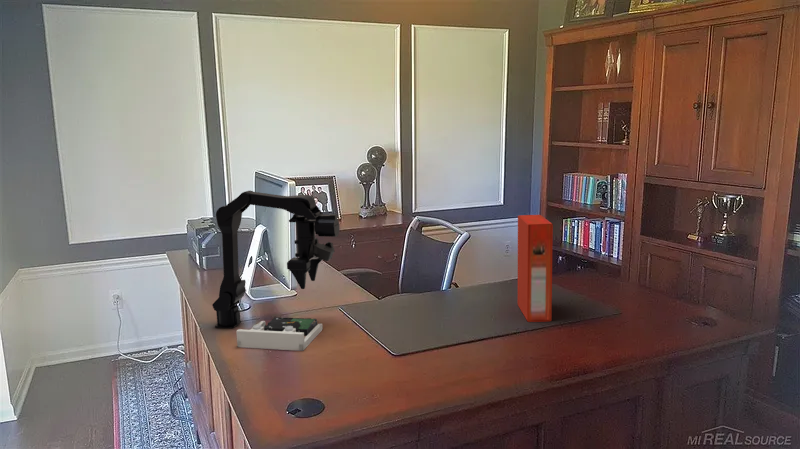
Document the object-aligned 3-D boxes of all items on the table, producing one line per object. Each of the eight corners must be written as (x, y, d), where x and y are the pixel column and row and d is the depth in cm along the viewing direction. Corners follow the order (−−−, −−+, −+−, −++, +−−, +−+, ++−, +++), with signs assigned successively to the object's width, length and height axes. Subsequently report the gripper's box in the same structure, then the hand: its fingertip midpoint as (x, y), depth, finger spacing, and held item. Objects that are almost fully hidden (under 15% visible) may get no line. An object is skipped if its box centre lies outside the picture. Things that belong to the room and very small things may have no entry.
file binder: (526, 321, 191) (527, 224, 186) (516, 305, 208) (517, 215, 203) (551, 321, 191) (553, 223, 186) (539, 304, 208) (541, 214, 203)
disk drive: (262, 336, 186) (308, 337, 184) (262, 327, 185) (308, 328, 183) (274, 325, 196) (318, 325, 194) (273, 316, 195) (317, 317, 193)
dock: (237, 347, 176) (236, 328, 175) (262, 326, 192) (261, 309, 191) (303, 350, 172) (302, 331, 171) (322, 329, 188) (321, 312, 187)
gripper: (320, 243, 174) (323, 294, 176) (339, 230, 192) (341, 277, 194) (284, 242, 176) (287, 293, 179) (306, 230, 194) (309, 276, 197)
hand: (308, 284), depth 187 cm, fingers open, 9 cm apart
